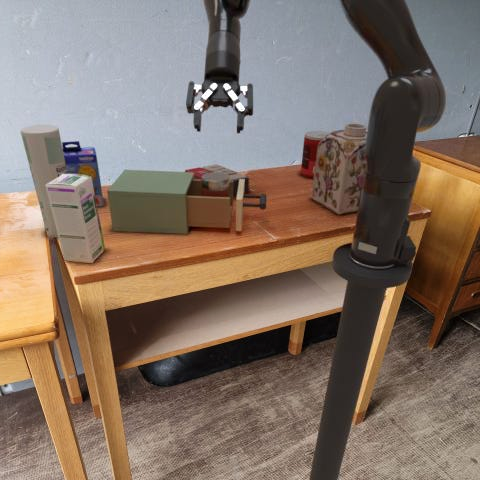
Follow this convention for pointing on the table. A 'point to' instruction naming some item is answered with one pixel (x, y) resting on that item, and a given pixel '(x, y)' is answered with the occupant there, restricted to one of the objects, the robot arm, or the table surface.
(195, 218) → the drawer
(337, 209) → the decorative jar
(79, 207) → the syrup box
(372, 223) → the robot arm
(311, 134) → the canned food
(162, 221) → the cabinet
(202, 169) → the red and beige packet
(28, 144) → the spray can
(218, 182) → the tin
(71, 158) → the ink cartridge box
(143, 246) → the table surface
